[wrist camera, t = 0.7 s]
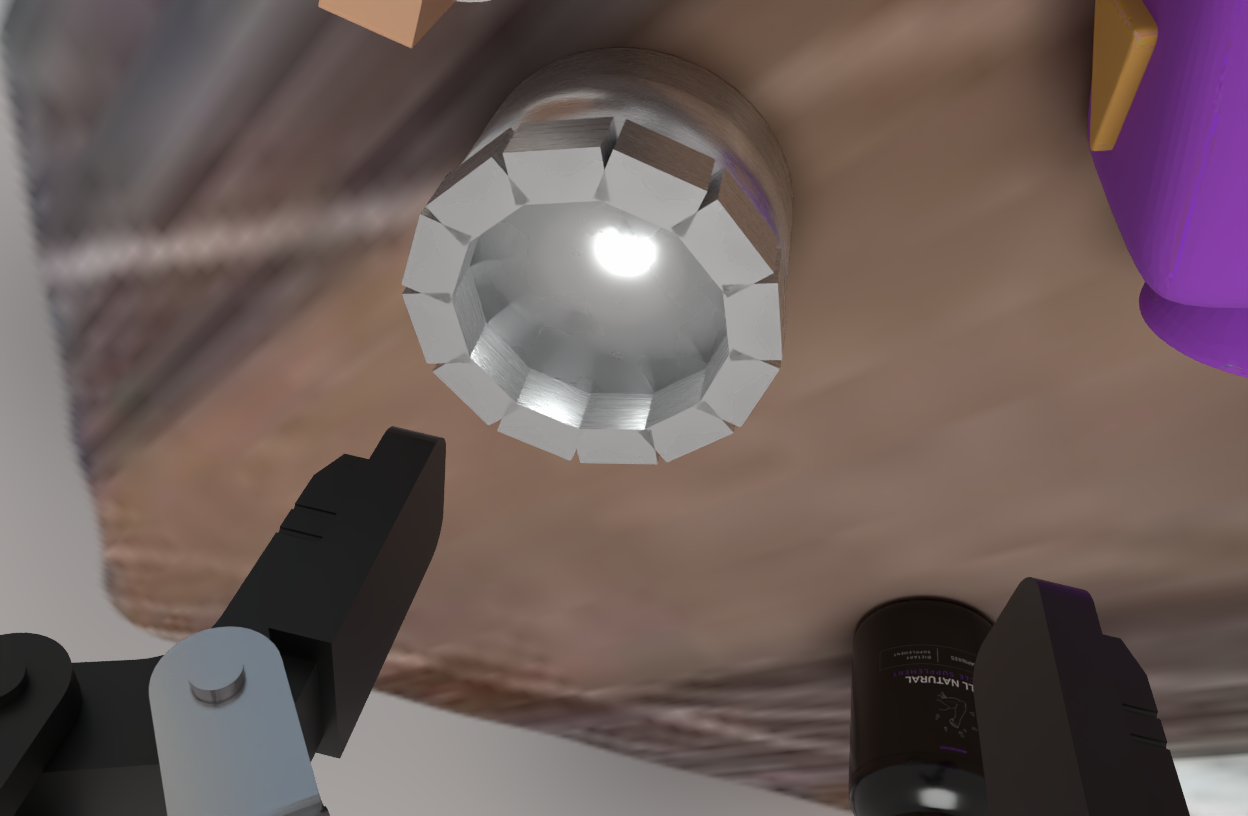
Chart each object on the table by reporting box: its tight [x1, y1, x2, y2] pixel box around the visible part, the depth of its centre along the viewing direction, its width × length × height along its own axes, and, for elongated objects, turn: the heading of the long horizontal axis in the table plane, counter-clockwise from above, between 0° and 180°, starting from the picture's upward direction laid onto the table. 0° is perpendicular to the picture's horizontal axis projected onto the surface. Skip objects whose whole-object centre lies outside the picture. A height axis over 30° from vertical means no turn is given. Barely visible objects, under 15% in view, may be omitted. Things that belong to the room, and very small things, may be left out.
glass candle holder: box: [402, 48, 793, 464], centre depth 30 cm, size 11×11×7 cm
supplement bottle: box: [849, 600, 993, 816], centre depth 41 cm, size 7×7×12 cm
